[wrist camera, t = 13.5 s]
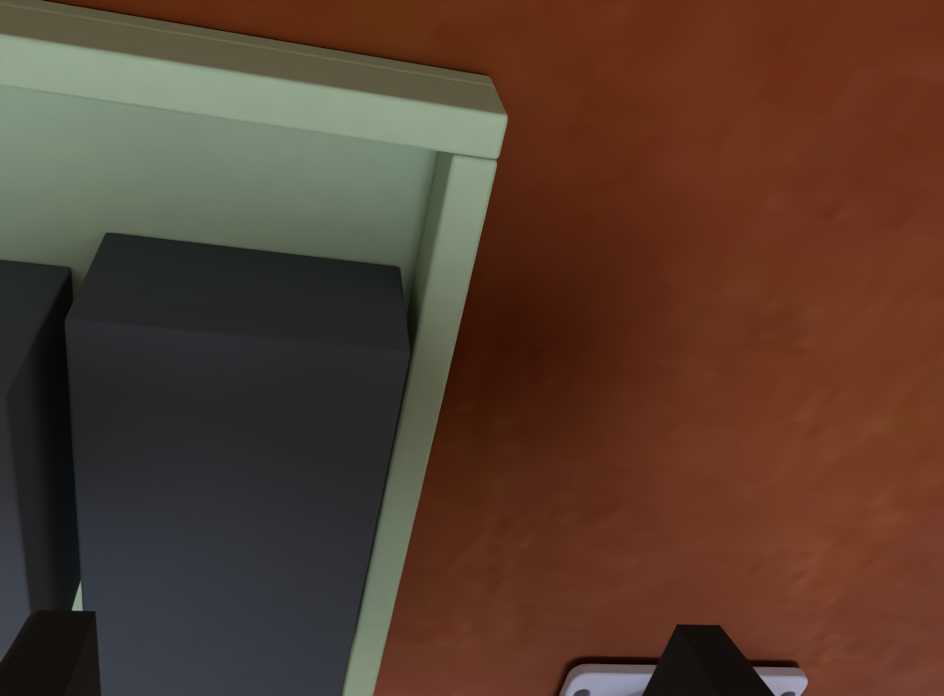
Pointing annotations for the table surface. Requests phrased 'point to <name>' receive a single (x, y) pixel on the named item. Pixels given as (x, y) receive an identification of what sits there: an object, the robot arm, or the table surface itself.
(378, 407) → the pad
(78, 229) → the tray
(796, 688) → the robot arm
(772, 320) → the table surface
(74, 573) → the loose pad
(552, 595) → the table surface
